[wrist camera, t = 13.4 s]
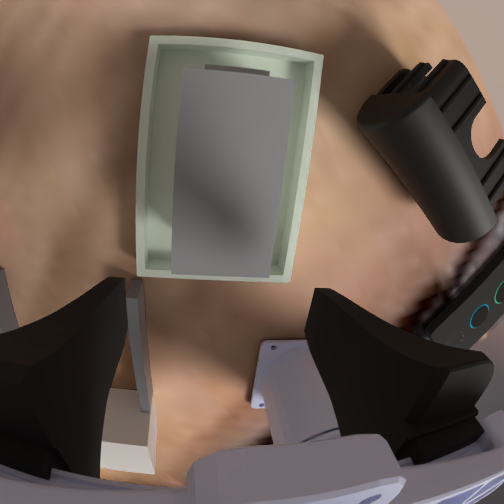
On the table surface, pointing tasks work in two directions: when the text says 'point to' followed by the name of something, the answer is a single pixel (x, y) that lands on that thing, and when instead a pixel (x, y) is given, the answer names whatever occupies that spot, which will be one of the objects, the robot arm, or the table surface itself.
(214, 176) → the grey rectangular block
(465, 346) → the smart home device
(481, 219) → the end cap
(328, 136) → the table surface
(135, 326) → the printer bay
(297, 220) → the tray
